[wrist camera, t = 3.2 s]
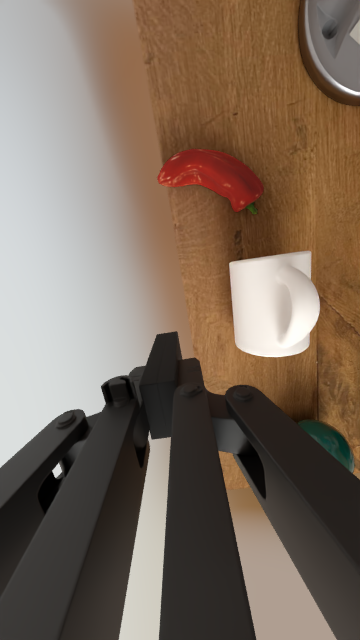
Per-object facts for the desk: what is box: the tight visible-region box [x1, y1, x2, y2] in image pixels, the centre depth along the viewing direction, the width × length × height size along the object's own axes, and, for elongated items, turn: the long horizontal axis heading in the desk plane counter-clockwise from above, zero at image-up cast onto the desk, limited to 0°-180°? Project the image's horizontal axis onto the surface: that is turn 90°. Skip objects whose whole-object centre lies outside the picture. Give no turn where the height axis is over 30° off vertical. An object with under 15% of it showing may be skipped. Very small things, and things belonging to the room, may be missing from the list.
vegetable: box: [158, 149, 264, 214], centre depth 22 cm, size 4×5×12 cm
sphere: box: [296, 419, 355, 473], centre depth 29 cm, size 8×8×8 cm
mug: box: [229, 251, 320, 357], centre depth 22 cm, size 8×10×12 cm
